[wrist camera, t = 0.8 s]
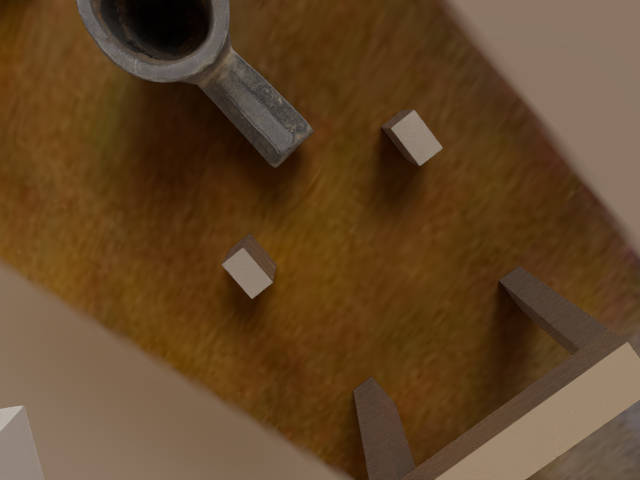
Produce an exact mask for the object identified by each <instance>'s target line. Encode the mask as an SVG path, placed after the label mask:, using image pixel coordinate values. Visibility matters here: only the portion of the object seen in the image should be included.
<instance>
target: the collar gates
mask: <svg viewBox="0 0 640 480" xmlns="http://www.w3.org/2000/svg"><path fill="white" fill-rule="evenodd" d="M382 129H383V130H384V131H385V133H386V134H387V135H388V137H389V138H390V139H391V140H392V142H393V143H394V144H395V146H396V147H397V148H398V150H399V151H400V152H401V153H402V155H403V156H404V157H405V159H406V160H407V161H409V162H411V163H414V164H416V165H418V166H421V165H422V164H423V163H424V162H426V161H427V160H428V159H430V158H431V157H432V156H433V155H435V154H436V153H437V152H438V151H440V150H441V149H442V146H441V145H440V144H439V142H438V141H437V140H436V138H435V137H434V136H433V134H432V133H431V132H430V130H429V129H428V128H427V126H426V125H425V124H424V122H423V121H422V120H421V118H420V117H419V116H418V114H417V113H416V112H415V110H402V111H400V112H399V113H398V114H397V115H395V116H394V117H393V118H392V119H390V120H389V121H388V122H387V123H385V124H384V125H383V126H382ZM222 265H223V267H224V268H225V269H226V270H227V271H228V272H229V273H230V275H231V276H232V277H233V278H234V279H235V280H236V282H237V283H238V284H239V285H240V286H241V287H242V288H243V290H244V291H245V292H246V293H247V294H248V295H249V296H250V298H251V299H252V298H254V297H255V296H256V295H258V294H259V293H260V292H261V291H263V290H264V289H265V288H266V287H268V286H269V285H270V284H271V283H273V279H274V274H275V269H276V263H275V262H274V261H273V260H272V258H271V257H270V256H269V255H268V254H267V253H266V251H265V250H264V249H263V248H262V247H261V245H260V244H259V243H258V242H257V241H256V240H255V238H254V237H253V236H252V235H251V234H250V233H249V234H248V235H247V236H246V237H244V238H243V239H242V240H241V241H239V242H238V243H237V244H236V245H234V246H233V247H232V248H231V249H230V251H229V253H228V254H227V256H226V258H225V260H224V262H223V263H222ZM499 281H500V283H501V284H502V285H503V287H504V288H505V289H506V290H507V292H508V293H509V294H510V296H511V297H512V298H513V300H514V301H515V302H516V303H517V305H518V306H519V307H520V309H521V310H522V311H523V312H524V313H525V314H526V315H527V316H529V317H530V318H531V319H532V320H533V321H534V322H535V323H536V324H538V325H539V326H540V327H541V328H542V329H543V330H544V331H545V332H546V333H548V334H549V335H550V336H551V337H552V338H553V339H554V340H555V341H557V342H558V343H559V344H560V345H561V346H562V347H563V348H564V349H565V350H567V351H568V352H569V353H570V354H571V355H572V356H570V357H569V358H568V359H566V360H565V361H564V362H562V363H561V364H559V365H558V366H557V367H555V368H554V369H552V370H551V371H550V372H548V373H547V374H546V375H544V376H543V377H541V378H540V379H539V380H537V381H536V382H534V383H533V384H532V385H530V386H529V387H527V388H526V389H525V390H523V391H522V392H521V393H519V394H518V395H516V396H515V397H514V398H512V399H511V400H509V401H508V402H507V403H505V404H504V405H503V406H501V407H500V408H498V409H497V410H496V411H494V412H493V413H491V414H490V415H489V416H487V417H486V418H485V419H483V420H482V421H480V422H479V423H478V424H476V425H475V426H473V427H472V428H471V429H469V430H468V431H466V432H465V433H464V434H462V435H461V436H460V437H458V438H457V439H455V440H454V441H453V442H451V443H450V444H448V445H447V446H446V447H444V448H443V449H442V450H440V451H439V452H437V453H436V454H435V455H433V456H432V457H430V458H429V459H428V460H426V461H425V462H424V463H422V464H421V465H419V466H418V467H417V468H415V465H414V462H413V459H412V456H411V452H410V449H409V446H408V443H407V440H406V436H405V433H404V430H403V427H402V424H401V421H400V417H399V414H398V411H397V408H396V405H395V403H394V402H393V401H392V400H391V398H390V397H389V396H388V395H387V394H386V393H385V391H384V390H383V389H382V388H381V387H380V386H379V384H378V383H377V382H376V381H375V380H374V378H373V377H372V376H371V377H370V378H369V379H367V380H366V381H365V382H363V383H362V384H361V385H359V386H358V387H357V388H355V389H354V390H353V392H354V398H355V403H356V409H357V415H358V420H359V426H360V432H361V437H362V443H363V449H364V454H365V460H366V465H367V471H368V477H369V480H525V479H527V478H528V477H530V476H531V475H532V474H534V473H535V472H537V471H538V470H540V469H541V468H542V467H544V466H545V465H547V464H548V463H550V462H551V461H552V460H554V459H555V458H557V457H558V456H560V455H561V454H562V453H564V452H565V451H567V450H568V449H570V448H571V447H572V446H574V445H575V444H577V443H578V442H580V441H581V440H582V439H584V438H585V437H587V436H588V435H590V434H591V433H592V432H594V431H595V430H597V429H598V428H600V427H601V426H602V425H604V424H605V423H607V422H608V421H610V420H611V419H612V418H614V417H615V416H617V415H618V414H620V413H621V412H622V411H624V410H625V409H627V408H628V407H630V406H631V405H632V404H634V403H635V402H637V401H638V400H640V358H639V357H638V356H637V354H636V353H635V352H634V350H633V349H632V347H631V346H630V345H629V343H628V342H627V341H626V340H624V339H623V338H621V337H620V336H618V335H617V334H616V333H614V332H613V331H611V330H610V329H608V328H607V327H606V326H604V325H603V324H601V323H600V322H598V321H597V320H596V319H594V318H593V317H591V316H590V315H588V314H587V313H586V312H584V311H583V310H581V309H580V308H578V307H577V306H575V305H574V304H573V303H571V302H570V301H568V300H567V299H565V298H564V297H563V296H561V295H560V294H558V293H557V292H555V291H554V290H553V289H551V288H550V287H548V286H547V285H545V284H544V283H543V282H541V281H540V280H538V279H537V278H535V277H534V276H533V275H531V274H530V273H528V272H527V271H525V270H524V269H523V268H521V267H520V266H518V267H517V268H515V269H514V270H513V271H511V272H510V273H509V274H507V275H506V276H505V277H503V278H502V279H501V280H499Z"/></svg>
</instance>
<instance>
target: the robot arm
mask: <svg viewBox="0 0 640 480" xmlns="http://www.w3.org/2000/svg"><path fill="white" fill-rule="evenodd" d="M0 480H44V476H43V473H42V470H41V465H40V462H39V458H38V454H37V451H36V447H35V444H34V440H33V437H32V433H31V429H30V425H29V422H28V418H27V414H26V411H25V407H24V406H17V407H10V408H3V409H0Z"/></svg>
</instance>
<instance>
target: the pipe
mask: <svg viewBox="0 0 640 480" xmlns="http://www.w3.org/2000/svg"><path fill="white" fill-rule="evenodd" d="M76 4H77V7H78V10H79V13H80V16H81V18H82V21H83V23H84V26H85V27H86V29H87V31H88V33H89V34H90V36H91V37H92V38H93V40H94V41H95V43H96V45H97V46H98V47H99V49H100V50H101V51H102V53H103V54H104V55H105V56H107V57H108V58H109V59H110V60H111V61H112V62H113V63H114V64H116V65H117V66H118V67H119V68H121V69H123V70H124V71H126V72H127V73H129V74H131V75H133V76H135V77H138V78H140V79H144V80H148V81H152V82H162V83H167V82H177V81H179V82H185V83H191V84H195V85H198V86H199V87H200V88H201V89H202V91H203V92H204V93H205V94H206V95H207V96H208V97H209V98H210V99H211V100H212V101H213V102H214V103H215V104H216V105H217V106H218V108H219V109H220V110H221V111H222V112H223V113H224V114H225V115H226V116H227V117H228V119H229V120H230V121H231V122H232V123H233V124H234V125H235V126H236V127H237V129H238V130H239V131H240V132H241V133H242V134H243V135H244V136H245V137H246V138H247V139H248V141H249V142H250V143H251V144H252V145H253V146H254V147H255V148H256V150H257V151H258V152H259V153H260V154H261V155H262V156H263V157H264V159H265V160H266V161H267V162H268V163H269V164H270V165H271V166H273V167H274V168H276V167H278V166H279V165H280V164H282V163H283V162H284V161H285V159H286V158H288V157H289V155H290V154H291V153H292V152H293V151H294V150H296V149H297V147H298V146H299V145H300V144H301V143H302V142H303V141H304V140H305V139H306V138H308V137H309V136H310V135H311V134H312V133H313V130H312V128H311V126H310V125H309V124H308V123H307V121H306V120H305V119H304V118H303V117H302V116H301V115H300V114H299V113H298V112H297V111H296V110H295V109H294V108H293V107H292V106H291V105H290V104H289V103H288V102H287V101H286V100H285V99H284V98H283V97H282V96H281V95H280V94H279V93H278V92H277V91H276V90H275V89H274V88H273V87H272V86H271V85H270V84H269V83H268V82H267V81H266V80H265V79H264V78H263V77H262V76H261V75H260V74H259V73H258V72H257V71H256V70H254V69H253V68H252V67H251V66H250V65H249V64H248V63H247V62H246V61H245V60H244V59H243V58H241V57H240V56H239V55H238V54H237V53H236V52H235V51H234V50H233V48H232V47H231V39H230V33H229V19H230V7H229V0H76Z"/></svg>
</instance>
